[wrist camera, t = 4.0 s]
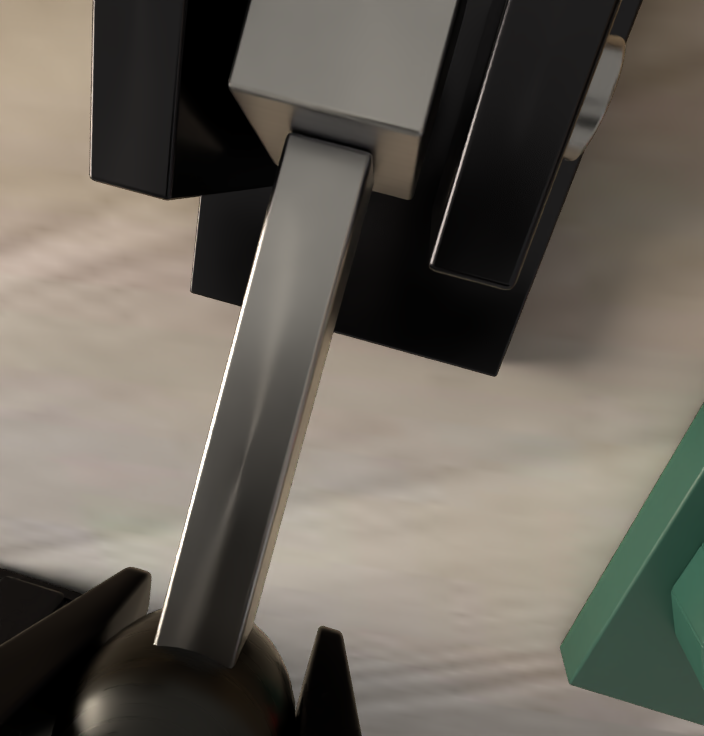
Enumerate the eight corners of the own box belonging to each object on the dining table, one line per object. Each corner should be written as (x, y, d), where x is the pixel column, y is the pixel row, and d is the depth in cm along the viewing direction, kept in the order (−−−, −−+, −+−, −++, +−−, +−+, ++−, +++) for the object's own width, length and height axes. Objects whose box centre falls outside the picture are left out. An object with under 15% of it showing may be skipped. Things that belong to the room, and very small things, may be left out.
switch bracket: (492, 362, 15) (557, 594, 7) (206, 284, 15) (-45, 414, 7) (692, -166, 10) (1669, -1421, 2) (269, -257, 11) (-248, -1566, 3)
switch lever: (283, 773, 9) (223, 1026, 5) (108, 716, 9) (-51, 928, 6) (490, 41, 8) (563, -170, 5) (294, -7, 8) (234, -241, 5)
